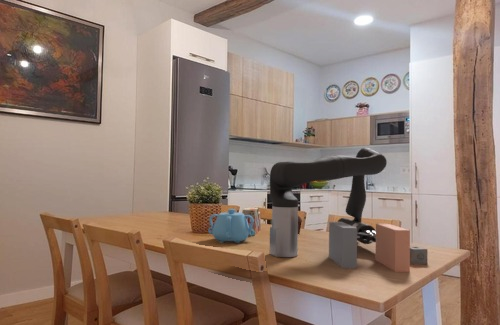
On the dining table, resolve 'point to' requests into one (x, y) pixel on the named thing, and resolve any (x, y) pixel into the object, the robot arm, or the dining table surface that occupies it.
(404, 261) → the terracotta slab
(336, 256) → the slate slab
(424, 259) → the dice cube
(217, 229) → the decorative pot
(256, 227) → the stack of blocks
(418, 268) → the dining table surface
